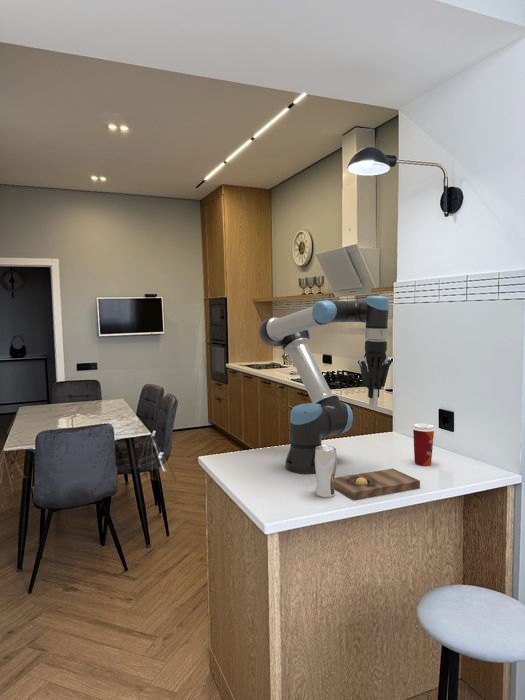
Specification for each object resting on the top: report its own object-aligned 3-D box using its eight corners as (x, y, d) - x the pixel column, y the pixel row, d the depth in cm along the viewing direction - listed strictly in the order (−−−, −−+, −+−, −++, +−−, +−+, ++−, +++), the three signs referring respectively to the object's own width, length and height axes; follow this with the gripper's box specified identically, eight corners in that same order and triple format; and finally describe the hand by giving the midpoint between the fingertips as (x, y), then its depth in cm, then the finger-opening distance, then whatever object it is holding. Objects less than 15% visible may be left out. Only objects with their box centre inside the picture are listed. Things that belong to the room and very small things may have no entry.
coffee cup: (435, 467, 183) (436, 428, 182) (412, 466, 185) (413, 427, 184) (432, 461, 191) (433, 423, 190) (410, 459, 193) (411, 422, 192)
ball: (352, 488, 160) (355, 476, 160) (355, 486, 163) (357, 474, 163) (364, 492, 158) (367, 480, 158) (367, 490, 162) (369, 478, 162)
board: (353, 500, 152) (353, 492, 151) (330, 485, 164) (330, 478, 164) (419, 488, 162) (420, 480, 162) (392, 475, 175) (392, 468, 175)
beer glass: (321, 488, 162) (322, 444, 161) (340, 493, 157) (340, 447, 156) (310, 494, 156) (310, 448, 155) (328, 499, 152) (329, 452, 151)
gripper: (366, 341, 165) (363, 410, 167) (398, 341, 170) (394, 407, 172) (354, 339, 172) (351, 405, 174) (384, 339, 177) (382, 403, 179)
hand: (373, 406), depth 173 cm, fingers closed
